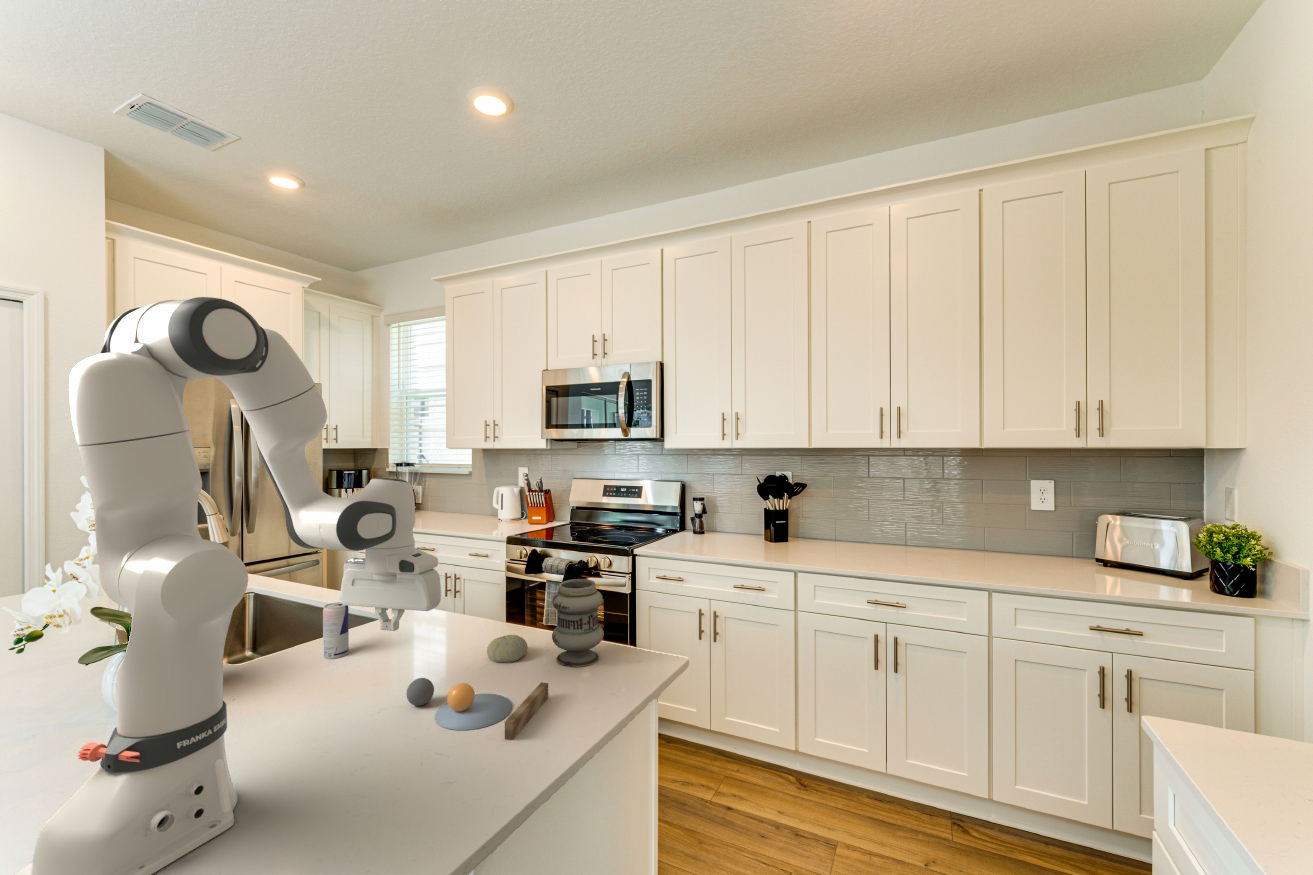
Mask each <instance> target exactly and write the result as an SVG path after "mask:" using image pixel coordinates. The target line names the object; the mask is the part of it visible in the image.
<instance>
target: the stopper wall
mask: <svg viewBox="0 0 1313 875" xmlns="http://www.w3.org/2000/svg"><path fill="white" fill-rule="evenodd" d="M548 699H549V682H545V681H544V682H543V681H542V682H540V683H539V684H538V685H537V686H536V687H535V688H534V690H533V691H532V692H530V694H528V696H527V697H526V698H525V699H524V700H523V701H522V703H521V704H519V706H518V707H517V708H516V709H515V710H514V711H513V712H512V713H511V714H509V717H507V719H506V720H505V721H504V740H510V741H513V740H514V739H515V737H517V735H518V734H519V733H520V732H521V731H522V730H523V728H524V727H525V726H526V725H527V724H528V723H529V721H530V720H531V719H532V717H533V716H534V715H535V714H536V713H537V712H538V711H539V709H540V708H541V707H542V706H543V705H544V704H545V702H546V701H547V700H548Z"/></svg>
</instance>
